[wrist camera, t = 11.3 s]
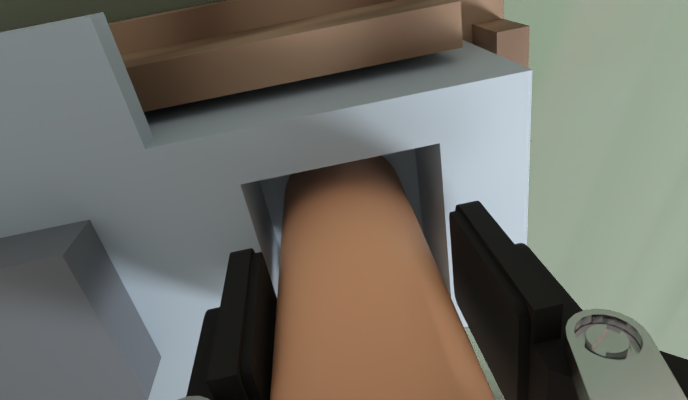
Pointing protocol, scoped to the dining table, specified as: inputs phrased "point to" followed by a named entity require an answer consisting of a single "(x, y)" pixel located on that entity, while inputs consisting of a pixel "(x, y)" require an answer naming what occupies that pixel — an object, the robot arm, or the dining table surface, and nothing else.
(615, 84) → the dining table surface
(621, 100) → the dining table surface
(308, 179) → the tail peg
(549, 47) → the dining table surface
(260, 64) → the cradle
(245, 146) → the pale blue peg socket
